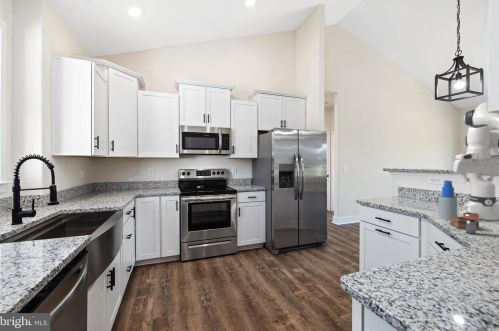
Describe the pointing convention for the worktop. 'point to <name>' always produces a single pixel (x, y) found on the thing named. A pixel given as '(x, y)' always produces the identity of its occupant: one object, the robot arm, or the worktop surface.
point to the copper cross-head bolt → (471, 222)
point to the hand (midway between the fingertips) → (478, 181)
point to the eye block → (460, 222)
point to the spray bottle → (447, 201)
